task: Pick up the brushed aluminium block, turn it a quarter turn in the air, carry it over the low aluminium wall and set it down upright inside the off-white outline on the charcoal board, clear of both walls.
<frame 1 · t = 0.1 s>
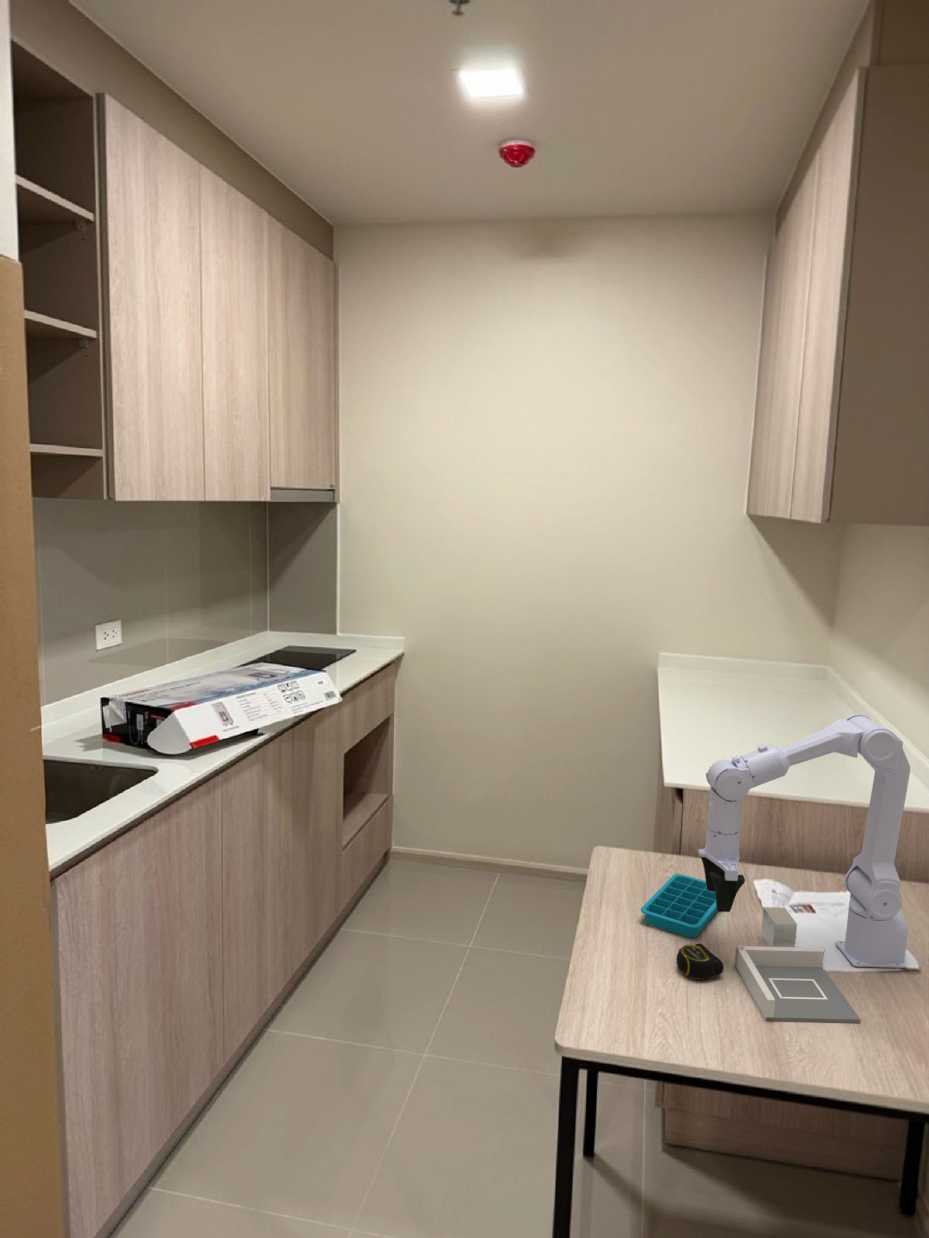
hand: (718, 900, 156), 10 cm above the table, fingers open, 7 cm apart
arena: (794, 992, 146), on the table
tape measure: (698, 971, 152), on the table
ice cube tray: (685, 913, 172), on the table
aluminium block: (777, 945, 160), on the table
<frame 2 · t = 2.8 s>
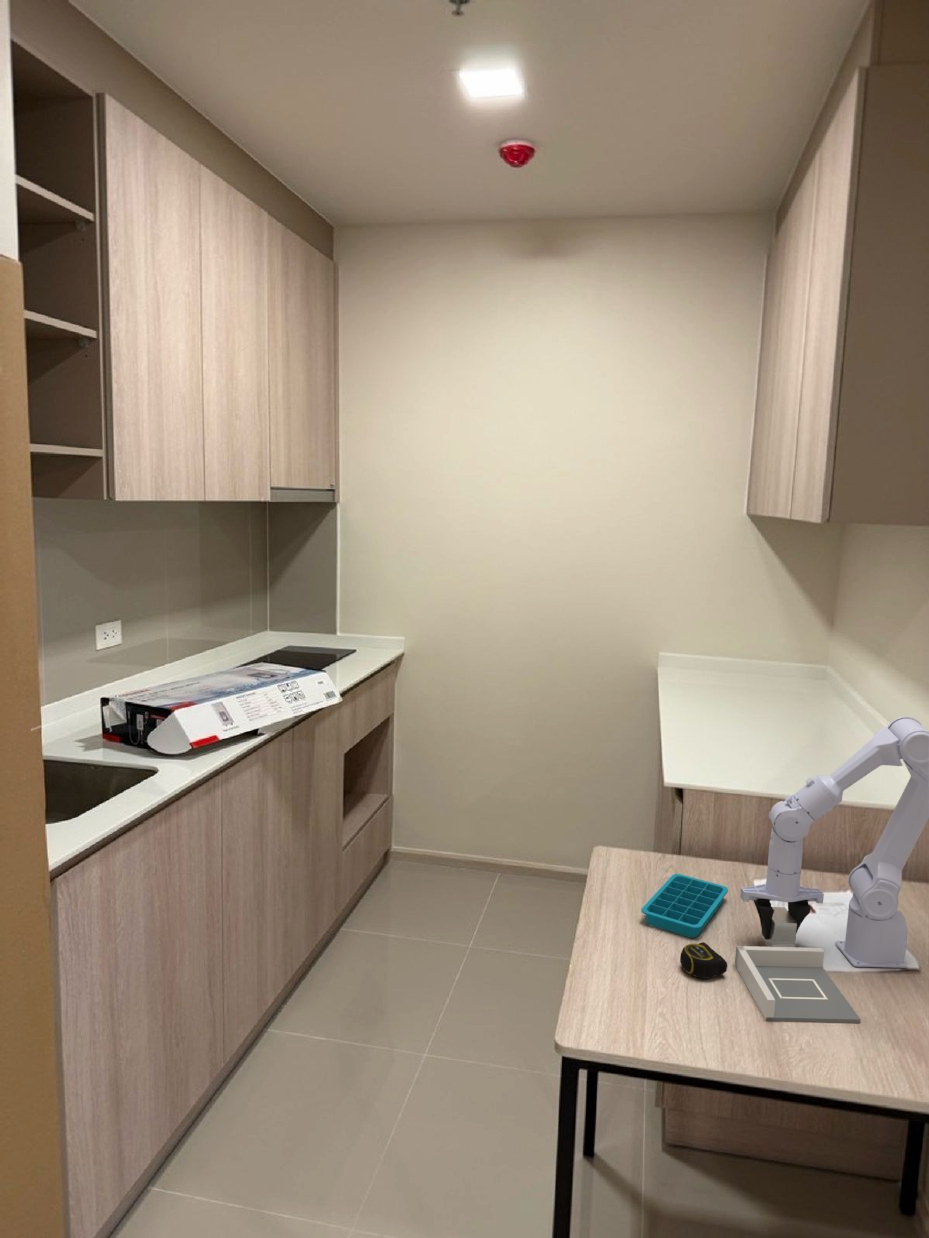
hand: (777, 936, 160), 2 cm above the table, fingers closed on aluminium block, 4 cm apart
aluminium block: (777, 945, 160), on the table, touching gripper
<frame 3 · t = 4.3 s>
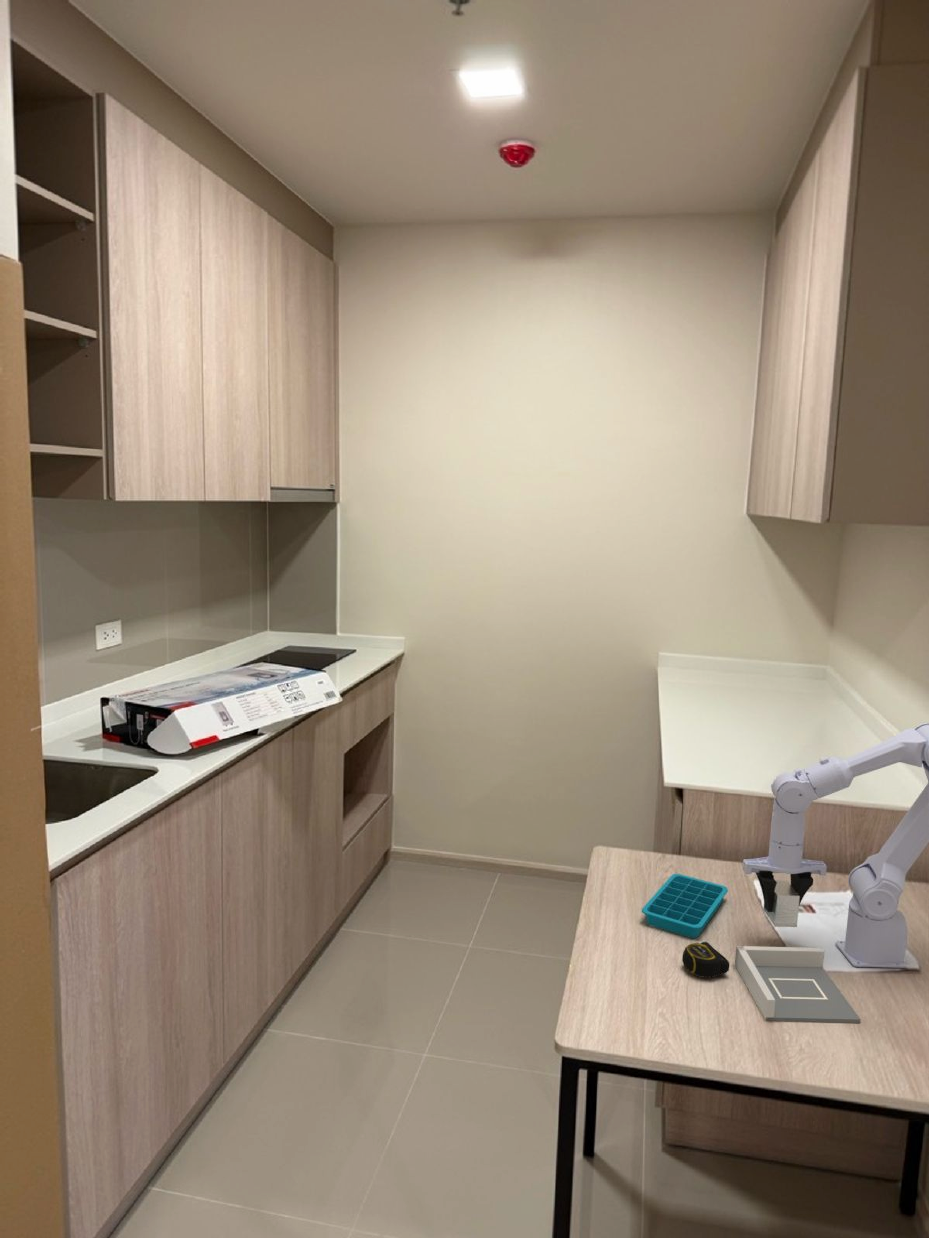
hand: (780, 909, 159), 7 cm above the table, fingers closed on aluminium block, 4 cm apart
aluminium block: (779, 918, 160), point 5 cm above the table, touching gripper
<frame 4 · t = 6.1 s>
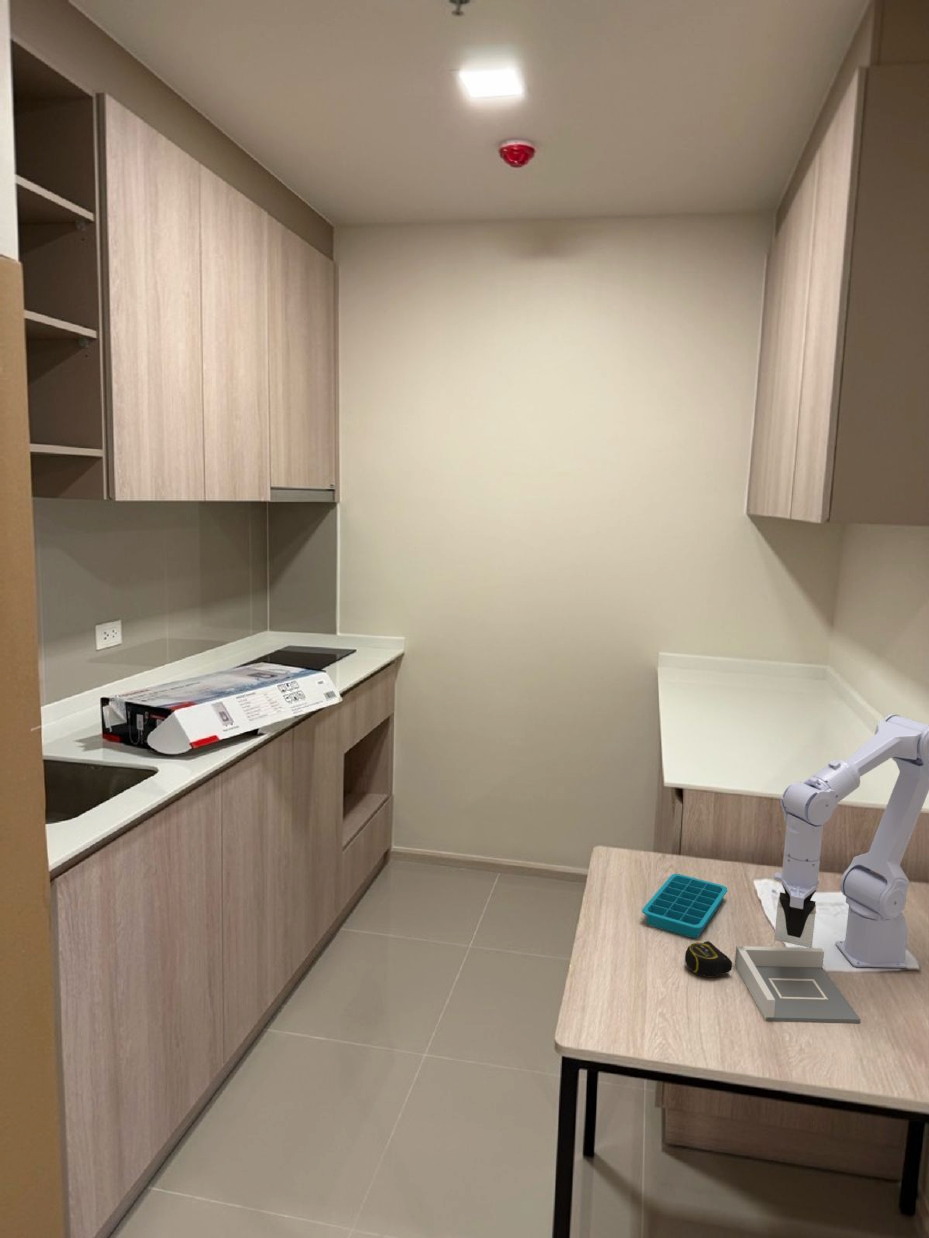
hand: (794, 929, 149), 9 cm above the table, fingers closed on aluminium block, 4 cm apart
aluminium block: (793, 938, 149), point 7 cm above the table, touching gripper
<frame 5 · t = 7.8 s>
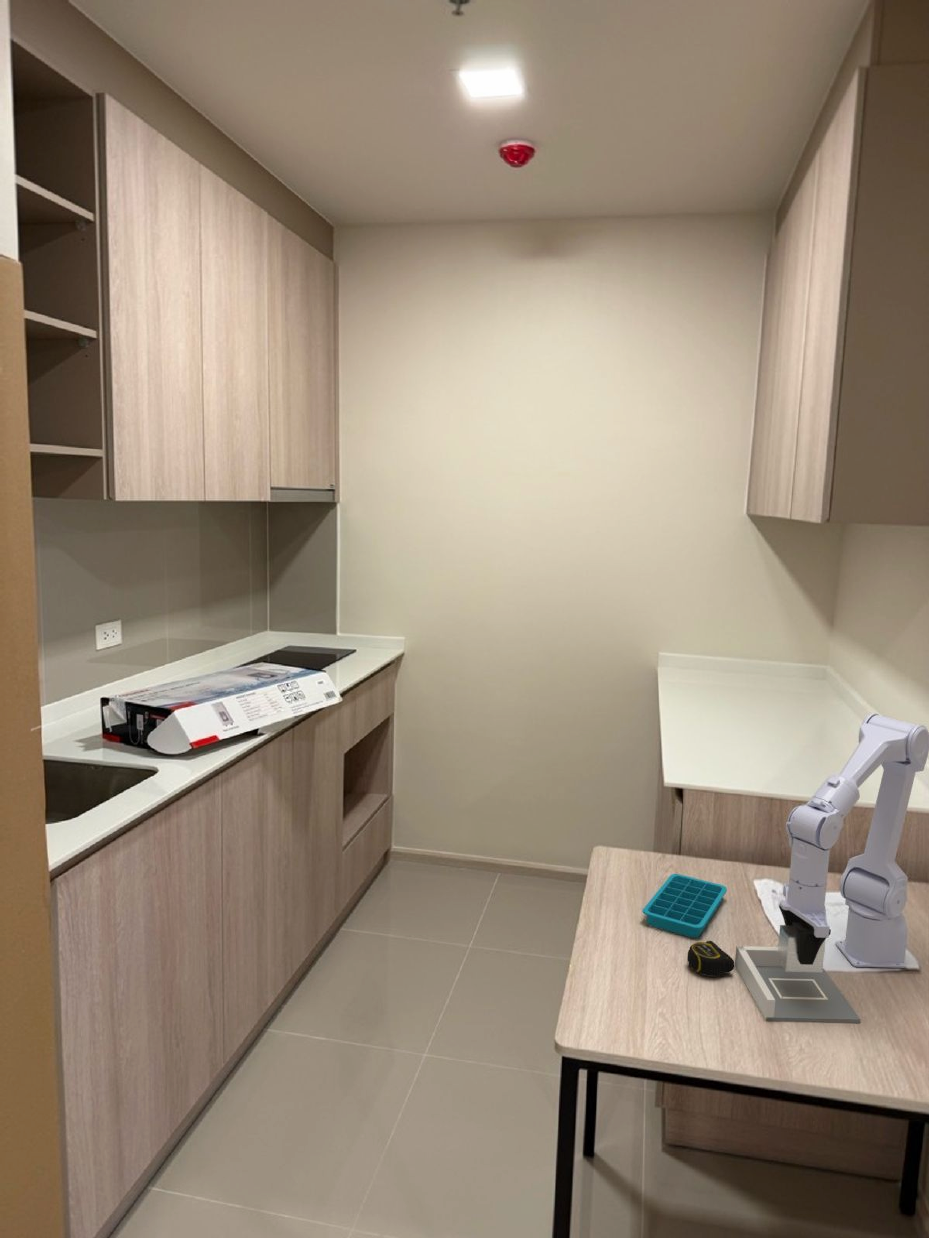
hand: (800, 955, 145), 7 cm above the table, fingers closed on aluminium block, 4 cm apart
aluminium block: (799, 965, 145), point 5 cm above the table, touching gripper
when the fingers open (3 cm above the table, at t = 9.3 s): aluminium block drops 1 cm, resting on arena.
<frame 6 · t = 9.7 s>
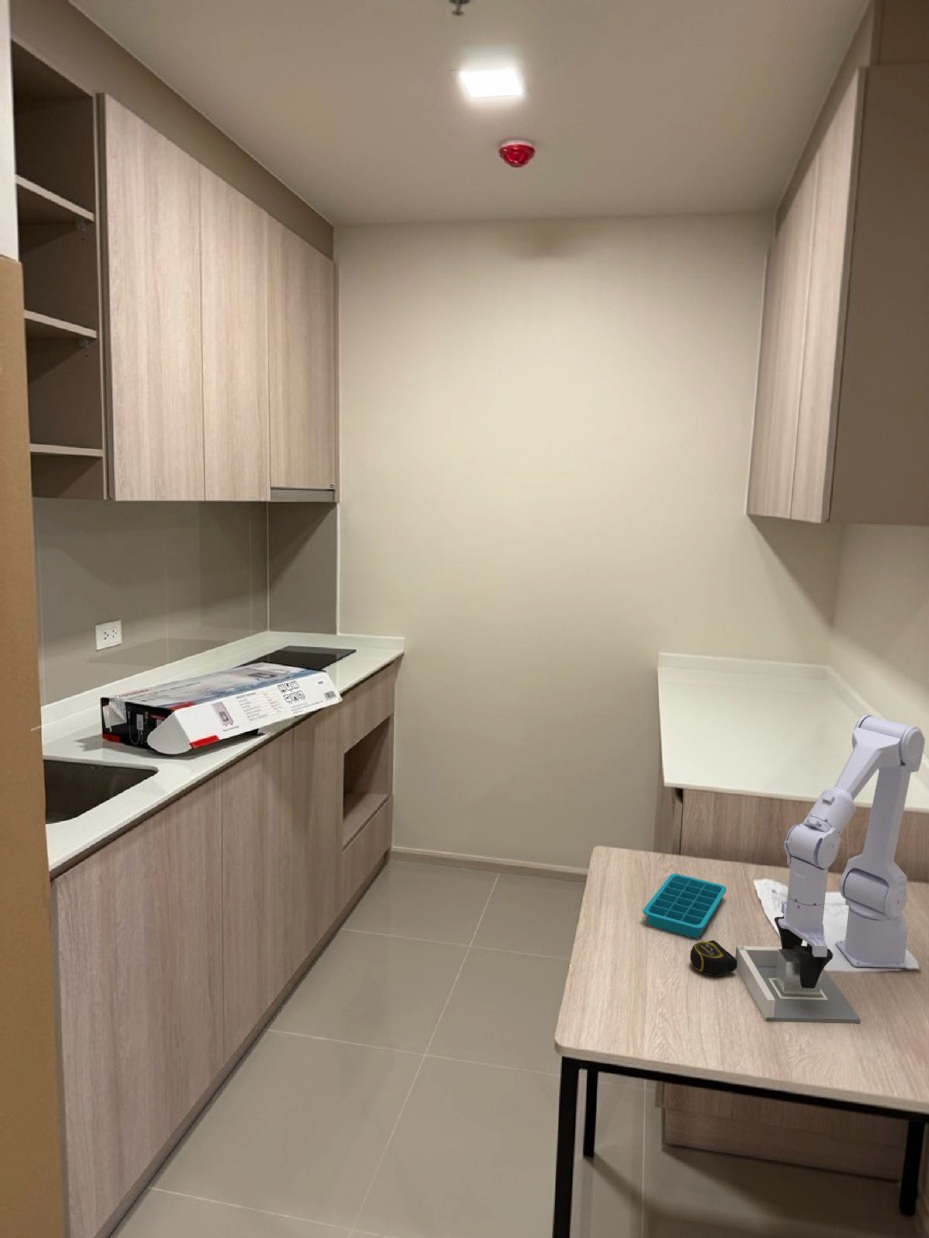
hand: (798, 973, 145), 3 cm above the table, fingers open, 7 cm apart
aluminium block: (797, 988, 146), point 1 cm above the table, touching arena
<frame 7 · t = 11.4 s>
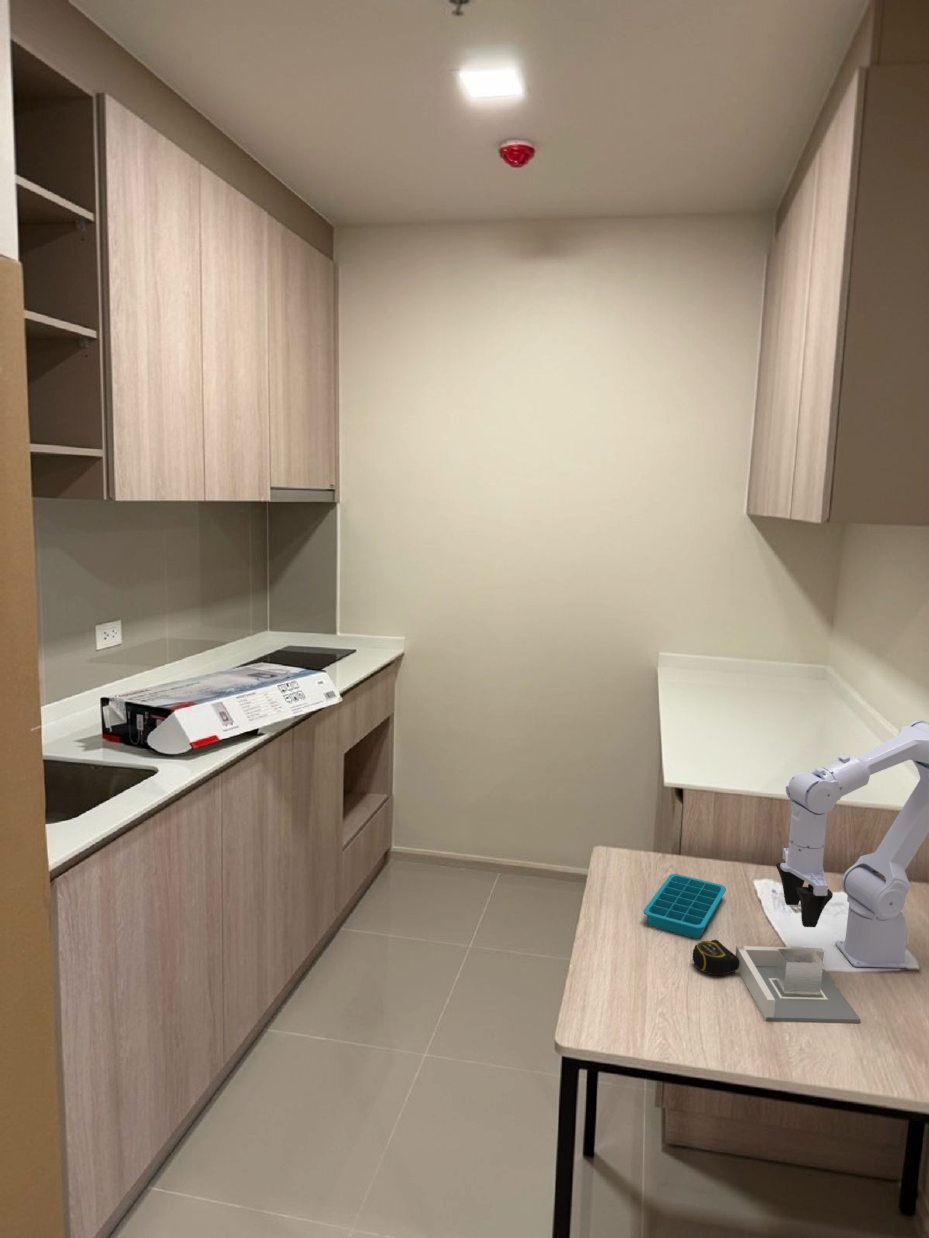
hand: (800, 914, 153), 9 cm above the table, fingers open, 7 cm apart
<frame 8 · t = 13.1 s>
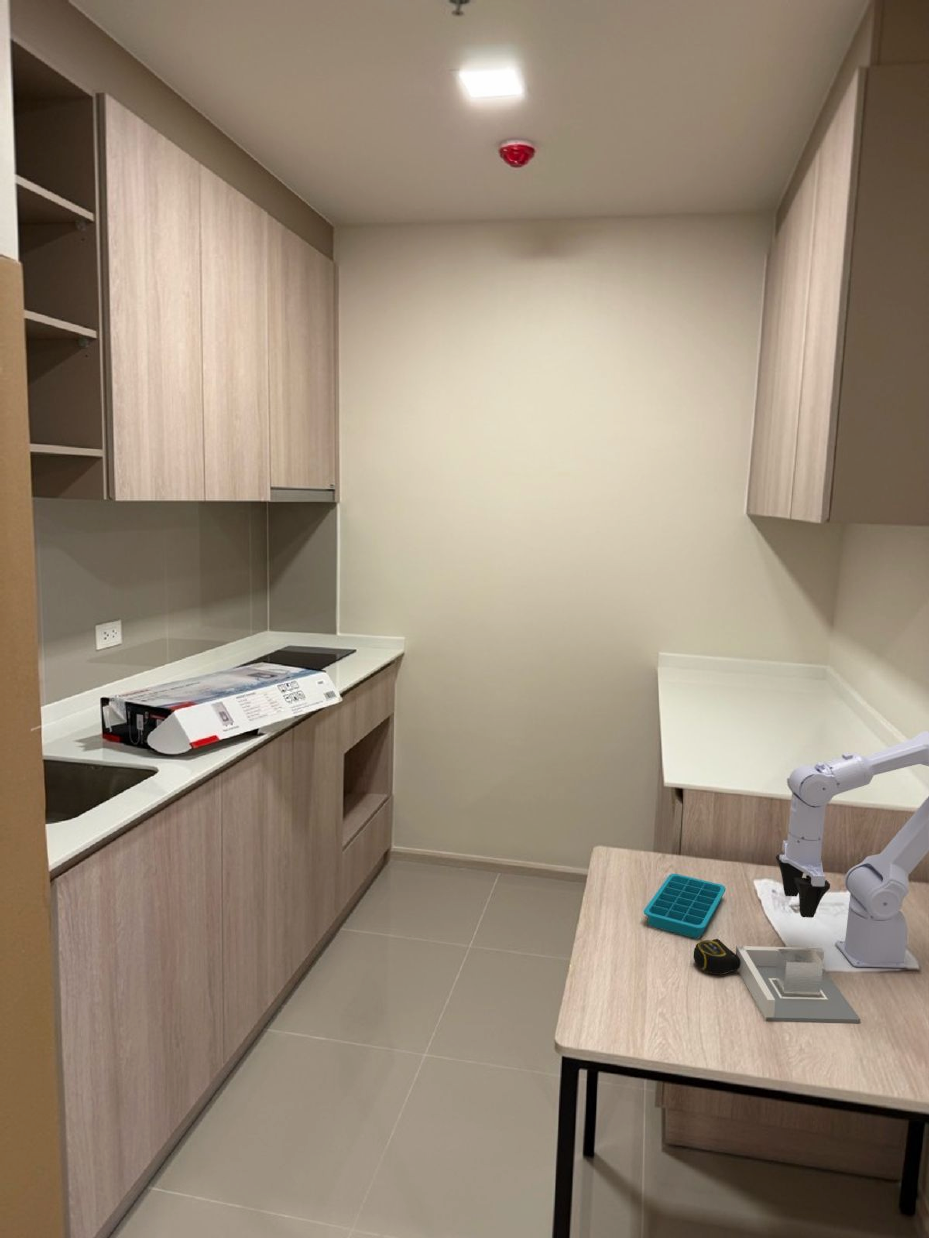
hand: (798, 905, 156), 9 cm above the table, fingers open, 7 cm apart
at the end: aluminium block 0.2 cm from the target spot, point 0.6 cm above the table; aluminium block tilted 0°; the gripper is holding nothing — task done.
